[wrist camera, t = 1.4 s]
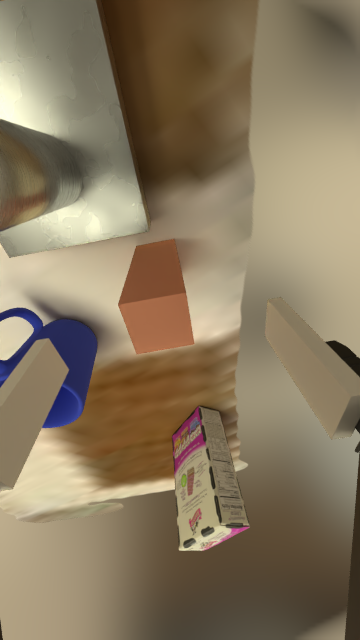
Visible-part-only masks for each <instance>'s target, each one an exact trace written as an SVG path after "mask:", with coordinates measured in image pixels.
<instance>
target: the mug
mask: <svg viewBox="0 0 360 640" xmlns="http://www.w3.org/2000/svg"><path fill="white" fill-rule="evenodd" d="M13 316H17V317H21V318H24V319H26V320H27V321H28V322H29V323H30V324H31V325H32V326H33V328H34V332H33V334H32V335H31V336H30V337H29V339H28V340H27V341H26V342H25V343H24V344H23V345H22V346H21V347H20V348H19V350H18V351H17V352H16V353H15V354H14V355H13V356H12V357H10V358H9V359H8V360H5V361H4V360H0V387H1V386H2V385H3V383H4V382H5V381H6V380H7V378H8V377H9V376H10V374H11V373H12V372H13V370H14V369H15V368H16V366H17V365H18V364H19V362H20V361H21V360H22V358H23V357H24V356H25V354H26V353H27V352H28V351H29V349H30V348H31V347H32V345H33V344H34V343H35V341H36V340H41V339H46V338H49V339H50V341H51V343H52V344H53V346H54V347H55V349H56V350H57V352H58V353H59V355H60V356H61V358H62V359H63V361H64V363H65V364H66V366H67V367H68V369H69V371H68V373H67V375H66V378H65V380H64V382H63V384H62V386H61V388H60V390H59V392H58V394H57V397H56V399H55V401H54V403H53V405H52V407H51V409H50V411H49V413H48V416H47V418H46V420H45V422H44V424H43V426H42V428H53V427H60V426H64V425H67V424H69V423H71V422H73V421H75V420H76V419H77V418H78V417H79V416H80V415H81V414H82V412H83V409H84V405H85V400H86V396H87V392H88V387H89V383H90V379H91V374H92V370H93V365H94V361H95V357H96V352H97V340H96V337H95V335H94V333H93V332H92V330H91V329H90V328H88V327H87V326H86V325H84V324H83V323H80V322H78V321H75V320H70V319H60V320H56V321H53V322H51V323H49V324H47V325H45V326H44V327H43V323H42V320H41V319H40V318H39V317H38V316H37V315H36V314H35V313H34V312H32V311H30V310H28V309H26V308H13V309H9V310H6V311H4V312H2V313H0V321H2V320H4V319H6V318H9V317H13Z"/></svg>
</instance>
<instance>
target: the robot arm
mask: <svg viewBox="0 0 360 640" xmlns="http://www.w3.org/2000/svg"><path fill="white" fill-rule="evenodd" d="M265 337H266V339H267V340H268V342H269V344H270V345H271V346H272V348H273V350H274V351H275V353H276V354H277V356H278V357H279V359H280V361H281V362H282V363H283V365H284V367H285V368H286V370H287V371H288V373H289V375H290V376H291V377H292V379H293V381H294V382H295V384H296V385H297V387H298V388H299V390H300V392H301V393H302V395H303V396H304V398H305V399H306V401H307V402H308V404H309V406H310V407H311V408H312V410H313V412H314V413H315V415H316V416H317V418H318V419H319V421H320V423H321V424H322V426H323V427H324V429H325V430H326V432H327V433H328V435H329V437H330V438H331V439H337V438H345V437H351V436H352V434H353V432H354V430H355V428H356V429H357V431H358V432H359V433H360V358H358V357H356V355H355V354H354V353H353V352H352V351H351V350H350V349H349V348H348V347H346V346H344V345H343V344H341V343H339V342H337V341H328V342H324V341H323V340H322V339H321V338H320V336H319V335H318V334H316V332H315V331H314V330H312V328H311V327H310V326H309V325H308V324H307V323H306V322H305V321H304V320H303V319H302V318H301V317H300V316H299V315H298V314H297V313H296V312H295V311H294V310H293V309H292V308H291V307H290V306H289V305H288V304H287V303H286V302H285V301H284V300H283V299H282V298H281V297H279V298H273V299H268V301H267V315H266V327H265ZM68 371H69V369H68V367H67V366H66V364H65V363H64V361H63V359H62V358H61V356H60V355H59V353H58V352H57V350H56V349H55V347H54V346H53V344H52V343H51V341H50V339H49V338H46V339H41V340H36V341H35V343H34V344H33V345H32V347H31V348H30V349H29V351H28V352H27V353H26V354H25V356H24V357H23V358H22V360H21V361H20V362H19V364H18V365H17V366H16V368H15V369H14V370H13V372H12V373H11V374H10V376H9V377H8V378H7V380H6V381H5V382H4V383H3V385H2V386H1V387H0V491H4V490H11V489H13V487H14V485H15V483H16V481H17V479H18V477H19V475H20V473H21V470H22V468H23V466H24V464H25V462H26V460H27V458H28V456H29V454H30V451H31V449H32V447H33V445H34V443H35V441H36V439H37V437H38V435H39V432H40V430H41V428H42V426H43V424H44V422H45V420H46V418H47V416H48V413H49V411H50V409H51V407H52V405H53V403H54V401H55V399H56V397H57V394H58V392H59V390H60V388H61V386H62V384H63V382H64V380H65V378H66V375H67V373H68ZM359 451H360V442H359V443H358V445H357V447H356V449H355V452H357V453H358V452H359ZM356 492H357V493H356V504H355V518H354V529H353V542H352V555H351V568H350V580H349V593H348V605H347V606H348V607H347V618H346V632H345V640H360V454H359V467H358V479H357V491H356ZM0 640H3V638H2V631H1V622H0Z"/></svg>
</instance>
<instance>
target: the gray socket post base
mask: <svg viewBox="0 0 360 640" xmlns="http://www.w3.org/2000/svg"><path fill="white" fill-rule="evenodd" d="M150 223H151V221H150V216H149V212H148V207H147V203H146V198H145V194H144V189H143V185H142V180H141V176H140V171H139V167H138V162H137V158H136V153H135V149H134V144H133V140H132V135H131V131H130V126H129V122H128V117H127V113H126V108H125V104H124V99H123V95H122V90H121V86H120V81H119V77H118V72H117V68H116V63H115V59H114V54H113V50H112V45H111V41H110V36H109V31H108V27H107V22H106V18H105V13H104V9H103V4H102V0H4V1H0V243H1V245H2V246H3V248H4V250H5V251H6V253H7V254H8V256H9V258H11V257H16V256H21V255H27V254H32V253H37V252H42V251H48V250H53V249H58V248H63V247H69V246H74V245H79V244H85V243H90V242H95V241H100V240H106V239H111V238H116V237H121V236H127V235H132V234H137V233H143V232H148V231H149V229H150Z"/></svg>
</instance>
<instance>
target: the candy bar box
mask: <svg viewBox="0 0 360 640" xmlns="http://www.w3.org/2000/svg"><path fill="white" fill-rule="evenodd" d="M172 442H173V458H174V475H175V491H176V507H177V523H178V537H179V550H184V551H189V550H190V551H197V550H199V551H203V550H206V549H208V548H210V547H212V546H214V545H217V544H219V543H220V542H222V541H224V540H226V539H228V538H230V537H232V536H234V535H236V534H238V533H239V532H241V531H243V530H245V529H247V528H249V527H250V525H249V521H248V517H247V514H246V510H245V506H244V502H243V499H242V495H241V491H240V487H239V484H238V480H237V476H236V472H235V469H234V465H233V462H232V458H231V453H230V450H229V446H228V443H227V439H226V435H225V431H224V427H223V424H222V420H221V416H220V412H219V411H217V410H214V409H209V408H205V407H201V406H198V407H197V408H196V409H195V411H194V412H193V413H192V414H191V415H190V416H189V417H188V419H187V420H186V421H185V422H184V423H183V424H182V426H181V427H180V428H179V429H178V430H177V431H176V433H175V434H174V435H173V436H172Z"/></svg>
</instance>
